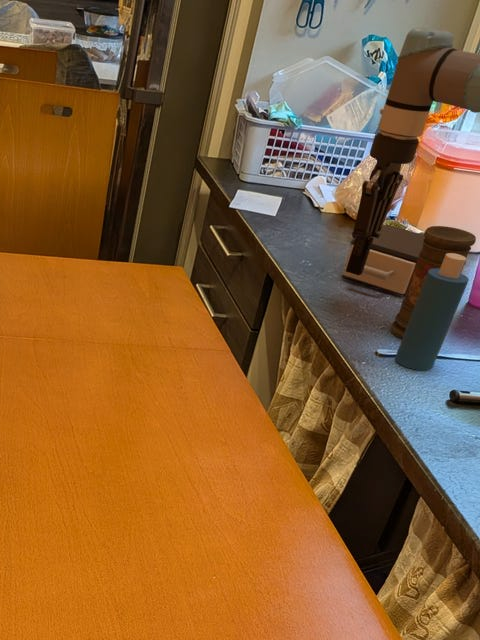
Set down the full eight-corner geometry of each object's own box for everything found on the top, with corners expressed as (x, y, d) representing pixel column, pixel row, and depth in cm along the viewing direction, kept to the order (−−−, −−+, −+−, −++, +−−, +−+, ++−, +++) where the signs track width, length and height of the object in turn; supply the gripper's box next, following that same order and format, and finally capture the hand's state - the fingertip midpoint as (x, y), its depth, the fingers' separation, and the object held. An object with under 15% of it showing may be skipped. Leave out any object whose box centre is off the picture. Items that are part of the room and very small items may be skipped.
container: (398, 321, 176) (432, 221, 164) (445, 334, 172) (484, 233, 160) (383, 334, 170) (417, 232, 158) (432, 348, 166) (470, 244, 155)
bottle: (438, 364, 161) (482, 258, 150) (424, 373, 158) (468, 266, 146) (403, 351, 164) (443, 247, 153) (389, 361, 160) (429, 254, 149)
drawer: (394, 299, 183) (405, 268, 179) (333, 279, 189) (343, 249, 185) (431, 278, 195) (442, 249, 191) (372, 260, 201) (382, 231, 197)
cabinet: (407, 298, 187) (422, 258, 182) (341, 276, 193) (354, 238, 188) (437, 280, 197) (452, 242, 192) (374, 261, 203) (386, 224, 198)
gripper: (392, 126, 167) (349, 260, 182) (362, 134, 159) (320, 273, 174) (432, 135, 163) (385, 271, 178) (404, 143, 155) (357, 285, 170)
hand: (353, 272), depth 176 cm, fingers closed
